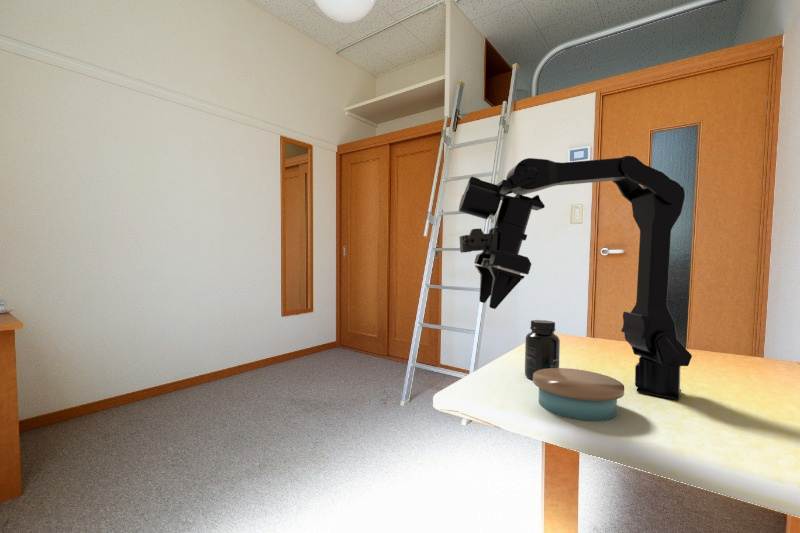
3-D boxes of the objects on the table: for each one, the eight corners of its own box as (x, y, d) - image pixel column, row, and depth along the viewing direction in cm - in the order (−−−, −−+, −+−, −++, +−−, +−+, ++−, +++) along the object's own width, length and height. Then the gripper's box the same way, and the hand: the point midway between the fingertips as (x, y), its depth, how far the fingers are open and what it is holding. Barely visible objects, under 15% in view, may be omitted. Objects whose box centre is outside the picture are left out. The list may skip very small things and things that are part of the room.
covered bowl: (630, 404, 65) (631, 378, 65) (614, 432, 54) (614, 401, 54) (548, 386, 74) (548, 363, 74) (519, 407, 63) (520, 380, 63)
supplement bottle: (562, 384, 76) (563, 324, 75) (526, 381, 77) (527, 323, 77) (555, 374, 82) (556, 319, 82) (522, 372, 84) (523, 318, 83)
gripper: (462, 219, 81) (441, 289, 81) (478, 207, 62) (452, 298, 62) (512, 234, 80) (491, 303, 81) (543, 226, 62) (516, 317, 62)
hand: (486, 305), depth 72 cm, fingers open, 9 cm apart
